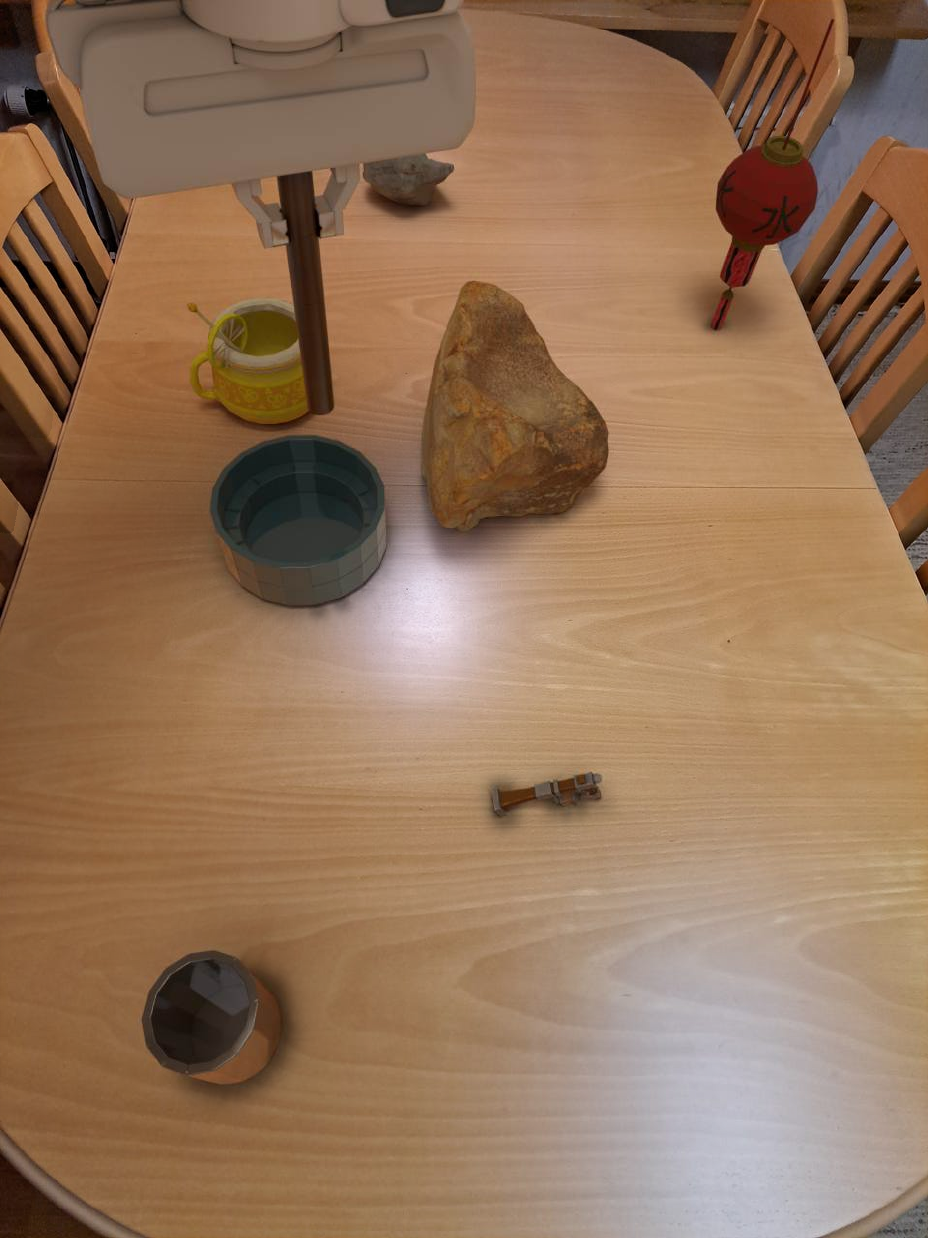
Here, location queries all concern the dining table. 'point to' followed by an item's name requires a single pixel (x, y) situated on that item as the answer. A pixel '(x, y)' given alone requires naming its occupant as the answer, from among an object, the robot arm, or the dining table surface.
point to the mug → (254, 361)
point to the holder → (211, 1019)
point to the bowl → (300, 519)
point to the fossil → (407, 178)
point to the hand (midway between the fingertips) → (301, 236)
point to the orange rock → (504, 418)
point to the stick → (307, 288)
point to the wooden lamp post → (549, 792)
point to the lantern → (763, 202)
